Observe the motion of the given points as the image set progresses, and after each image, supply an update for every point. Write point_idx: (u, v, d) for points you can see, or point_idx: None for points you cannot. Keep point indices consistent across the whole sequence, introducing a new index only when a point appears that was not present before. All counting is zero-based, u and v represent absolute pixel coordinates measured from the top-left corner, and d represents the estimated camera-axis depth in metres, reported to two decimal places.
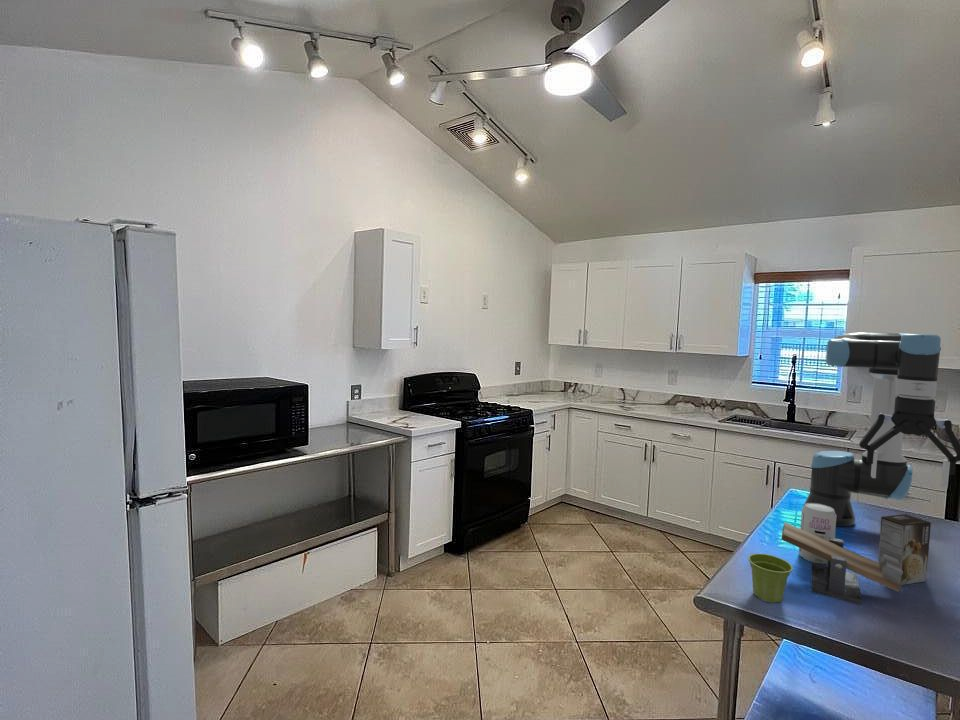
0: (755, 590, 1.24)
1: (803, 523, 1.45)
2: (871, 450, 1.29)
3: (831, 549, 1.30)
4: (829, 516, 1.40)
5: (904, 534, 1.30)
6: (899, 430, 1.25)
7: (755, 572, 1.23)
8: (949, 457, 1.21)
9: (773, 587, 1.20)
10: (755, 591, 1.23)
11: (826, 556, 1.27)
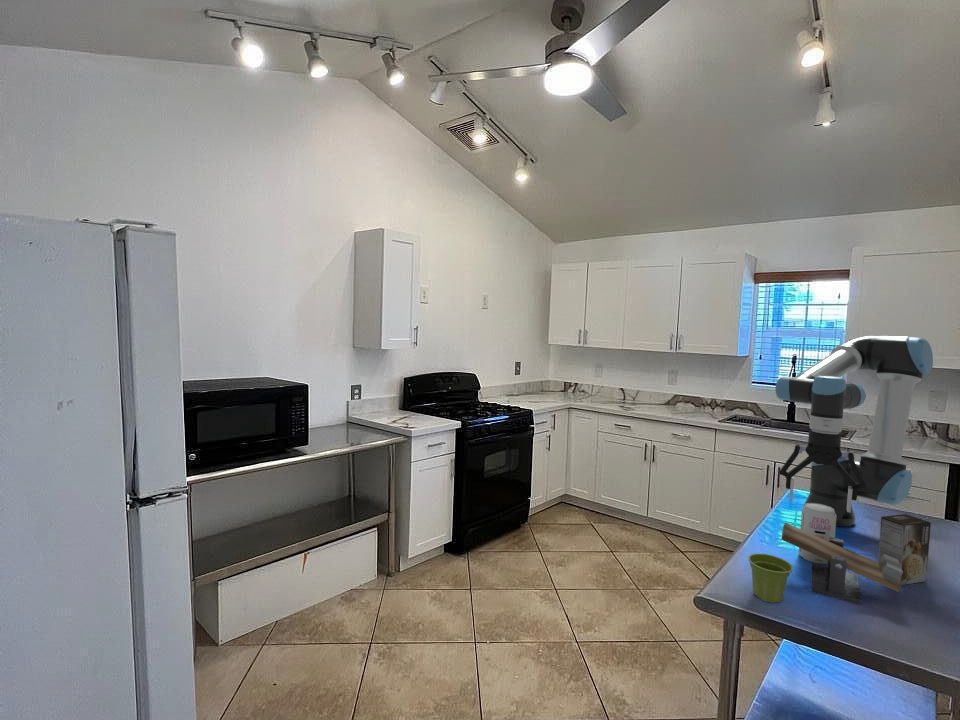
0: (755, 590, 1.24)
1: (803, 523, 1.45)
2: (788, 477, 1.47)
3: (831, 549, 1.30)
4: (829, 516, 1.40)
5: (903, 534, 1.30)
6: (811, 460, 1.43)
7: (755, 572, 1.23)
8: (852, 485, 1.39)
9: (773, 587, 1.20)
10: (755, 591, 1.23)
11: (826, 556, 1.27)
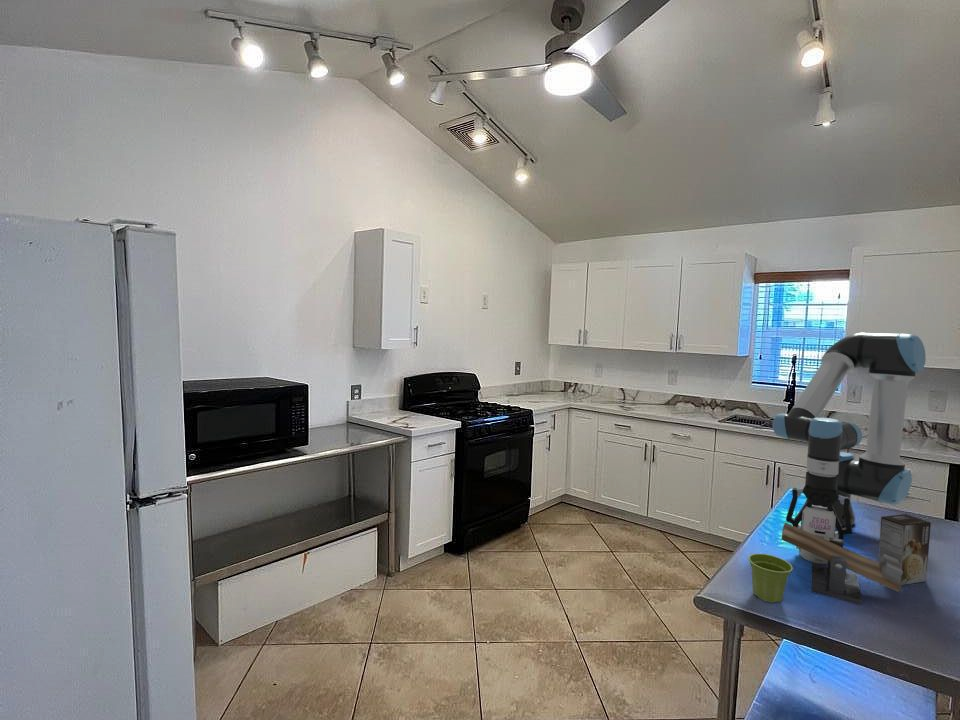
0: (755, 590, 1.24)
1: (803, 523, 1.45)
2: (795, 524, 1.46)
3: (831, 549, 1.30)
4: (829, 516, 1.40)
5: (903, 534, 1.30)
6: (811, 503, 1.44)
7: (755, 572, 1.23)
8: (838, 530, 1.41)
9: (773, 587, 1.20)
10: (755, 591, 1.23)
11: (826, 556, 1.27)
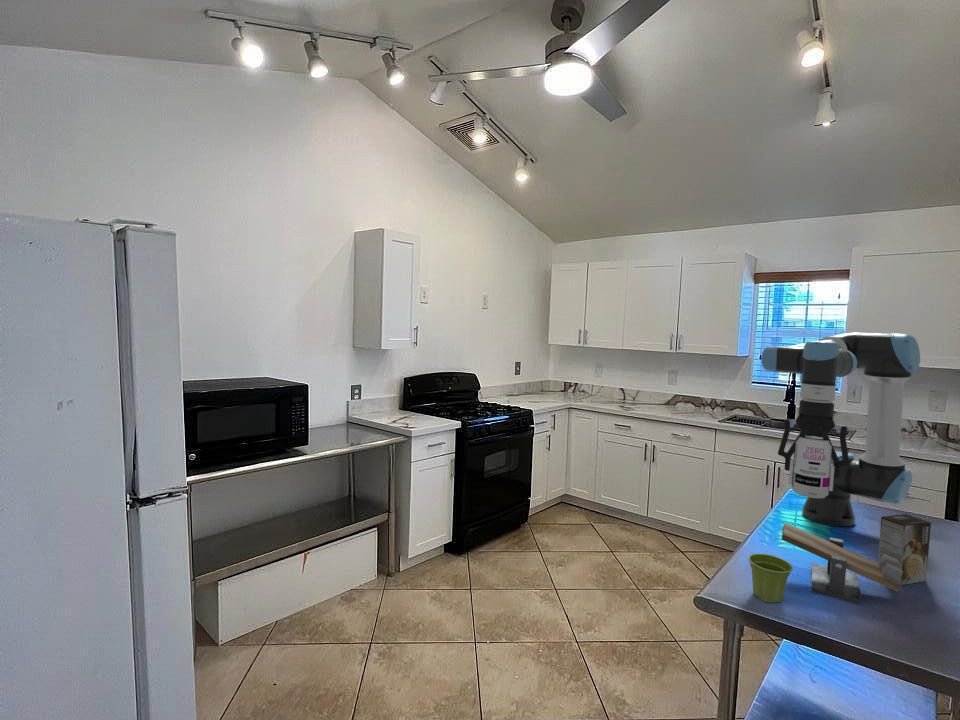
0: (755, 590, 1.24)
1: (796, 455, 1.33)
2: (788, 457, 1.35)
3: (831, 549, 1.30)
4: (824, 445, 1.29)
5: (904, 534, 1.30)
6: (804, 433, 1.32)
7: (755, 572, 1.23)
8: (834, 461, 1.30)
9: (773, 587, 1.20)
10: (755, 591, 1.23)
11: (826, 556, 1.27)
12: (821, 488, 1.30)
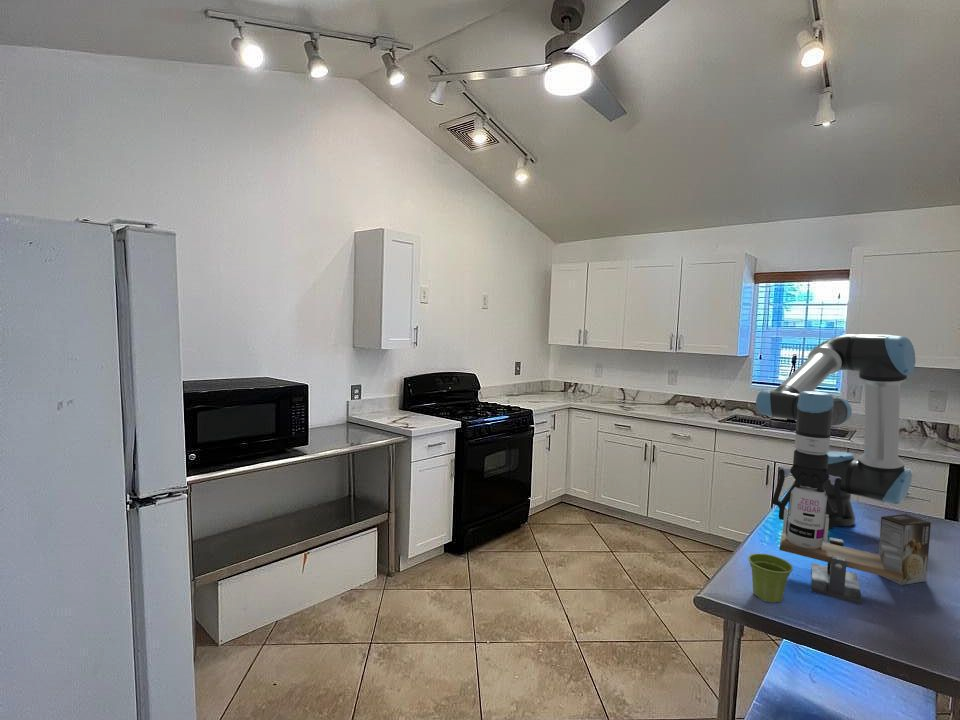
0: (755, 590, 1.24)
1: (791, 505, 1.33)
2: (782, 507, 1.35)
3: (830, 550, 1.30)
4: (819, 497, 1.29)
5: (903, 534, 1.30)
6: (799, 484, 1.32)
7: (755, 572, 1.23)
8: (829, 513, 1.29)
9: (773, 587, 1.20)
10: (755, 591, 1.23)
11: (825, 558, 1.27)
12: (815, 539, 1.29)
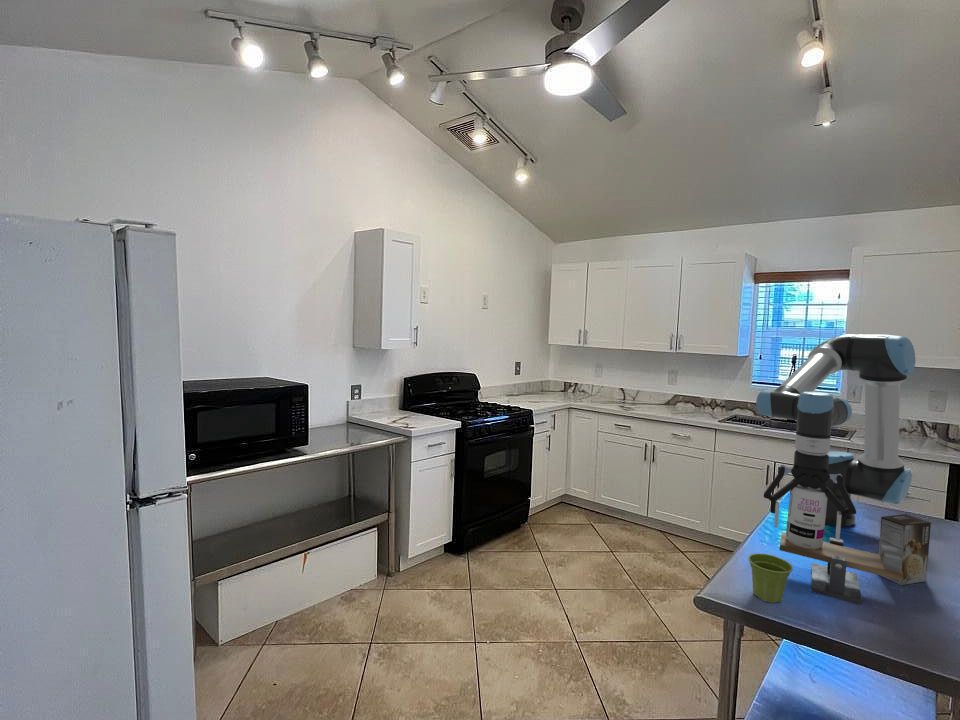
0: (755, 590, 1.24)
1: (791, 505, 1.33)
2: (773, 500, 1.36)
3: (830, 550, 1.30)
4: (819, 497, 1.29)
5: (904, 534, 1.30)
6: (797, 483, 1.32)
7: (755, 572, 1.23)
8: (841, 510, 1.28)
9: (773, 587, 1.20)
10: (755, 591, 1.23)
11: (825, 558, 1.27)
12: (815, 539, 1.29)
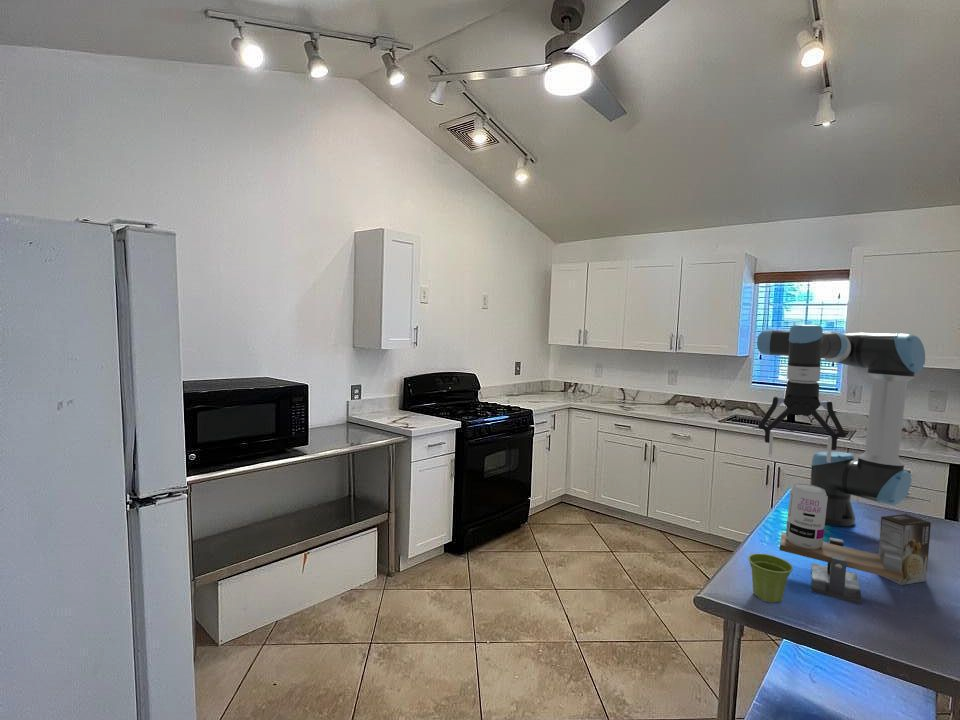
0: (755, 590, 1.24)
1: (791, 505, 1.33)
2: (767, 430, 1.43)
3: (830, 550, 1.30)
4: (819, 497, 1.29)
5: (903, 534, 1.30)
6: (790, 411, 1.39)
7: (755, 572, 1.23)
8: (831, 434, 1.35)
9: (773, 587, 1.20)
10: (755, 591, 1.23)
11: (825, 558, 1.27)
12: (815, 539, 1.29)
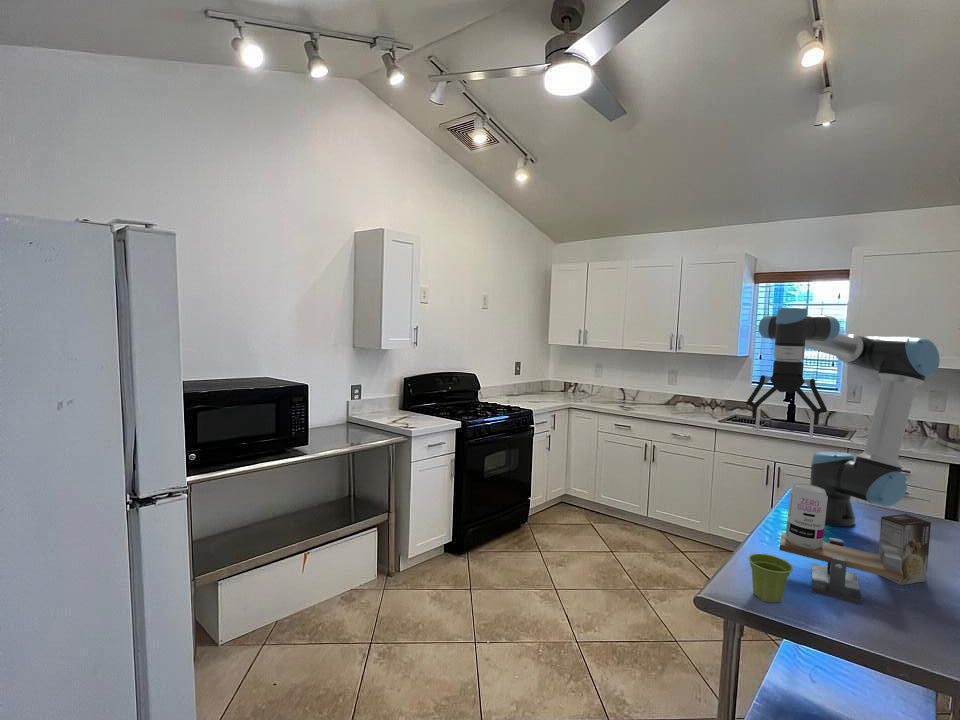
0: (755, 590, 1.24)
1: (791, 505, 1.33)
2: (755, 406, 1.52)
3: (830, 550, 1.30)
4: (819, 497, 1.29)
5: (904, 534, 1.30)
6: (775, 388, 1.49)
7: (755, 572, 1.23)
8: (813, 410, 1.44)
9: (773, 587, 1.20)
10: (755, 591, 1.23)
11: (825, 558, 1.27)
12: (815, 539, 1.29)
